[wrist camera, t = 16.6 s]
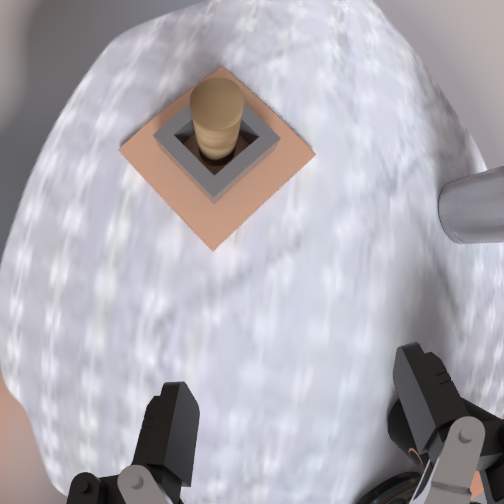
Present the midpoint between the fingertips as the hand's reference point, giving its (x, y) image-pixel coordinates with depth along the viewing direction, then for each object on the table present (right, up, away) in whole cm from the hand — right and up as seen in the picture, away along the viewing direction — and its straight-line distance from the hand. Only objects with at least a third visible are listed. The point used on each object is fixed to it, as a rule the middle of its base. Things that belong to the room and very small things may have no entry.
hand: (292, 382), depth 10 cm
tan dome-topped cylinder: (-5, +16, +22) cm, 27 cm away
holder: (-6, +16, +23) cm, 28 cm away
